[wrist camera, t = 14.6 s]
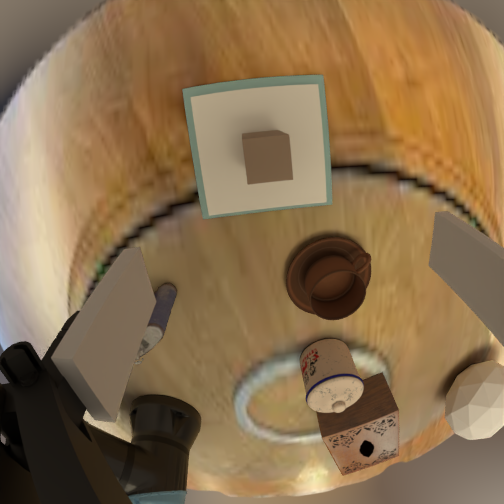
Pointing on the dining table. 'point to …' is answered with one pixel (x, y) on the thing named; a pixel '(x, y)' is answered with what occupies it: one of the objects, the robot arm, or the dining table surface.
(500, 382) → the ball
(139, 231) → the dining table surface
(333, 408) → the teacup with lid
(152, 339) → the flask
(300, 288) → the cup and saucer
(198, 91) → the mat
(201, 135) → the lid
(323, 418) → the tissue box cover
